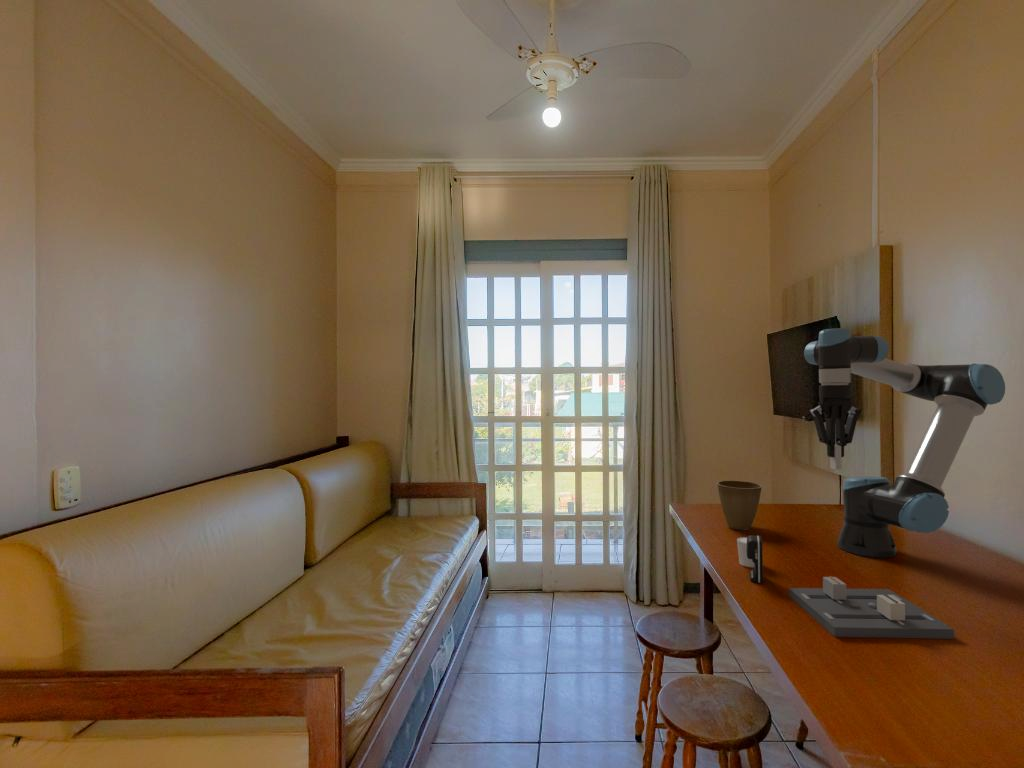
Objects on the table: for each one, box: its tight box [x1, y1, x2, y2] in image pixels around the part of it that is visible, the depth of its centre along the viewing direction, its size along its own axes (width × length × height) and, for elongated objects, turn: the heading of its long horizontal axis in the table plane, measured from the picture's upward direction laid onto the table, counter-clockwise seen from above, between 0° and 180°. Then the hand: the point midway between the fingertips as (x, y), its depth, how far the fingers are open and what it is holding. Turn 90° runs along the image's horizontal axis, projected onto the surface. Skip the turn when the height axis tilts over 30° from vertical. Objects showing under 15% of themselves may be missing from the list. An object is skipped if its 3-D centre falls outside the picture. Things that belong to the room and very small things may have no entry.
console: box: [788, 587, 955, 640], centre depth 115 cm, size 24×20×3 cm
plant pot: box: [717, 480, 763, 531], centre depth 184 cm, size 15×15×16 cm
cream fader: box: [877, 594, 905, 620], centre depth 110 cm, size 3×4×4 cm
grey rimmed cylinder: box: [736, 536, 755, 568], centre depth 148 cm, size 7×7×7 cm
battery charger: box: [746, 534, 764, 584], centre depth 137 cm, size 7×4×11 cm, turn 156°
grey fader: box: [822, 575, 847, 600], centre depth 120 cm, size 3×4×4 cm
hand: (835, 468), depth 139 cm, fingers closed
